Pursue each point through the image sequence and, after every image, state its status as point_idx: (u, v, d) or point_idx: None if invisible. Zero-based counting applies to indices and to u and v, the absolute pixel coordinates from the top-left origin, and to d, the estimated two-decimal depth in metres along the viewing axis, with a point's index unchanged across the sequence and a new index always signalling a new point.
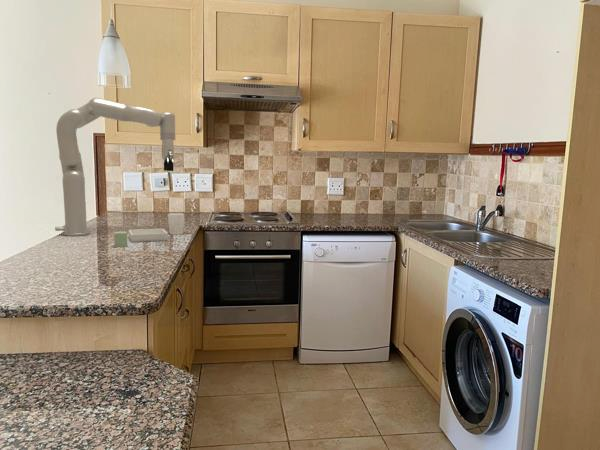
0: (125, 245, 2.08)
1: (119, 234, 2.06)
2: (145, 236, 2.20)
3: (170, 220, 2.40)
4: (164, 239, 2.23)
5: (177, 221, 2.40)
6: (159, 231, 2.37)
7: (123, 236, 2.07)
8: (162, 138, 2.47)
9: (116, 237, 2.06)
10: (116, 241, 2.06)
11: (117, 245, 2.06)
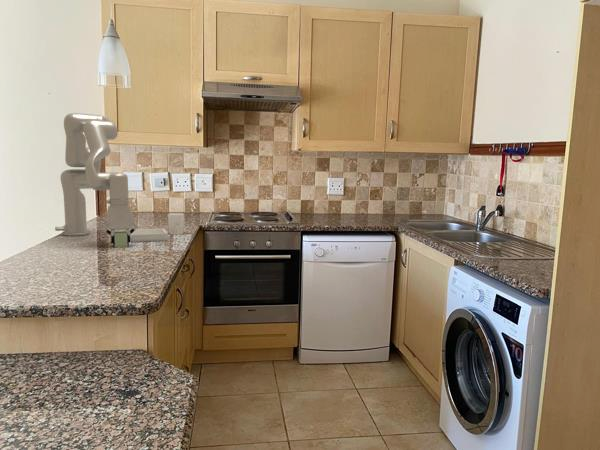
0: (125, 245, 2.08)
1: (119, 234, 2.06)
2: (145, 236, 2.20)
3: (170, 220, 2.40)
4: (164, 239, 2.23)
5: (177, 221, 2.40)
6: (159, 231, 2.37)
7: (123, 236, 2.07)
8: (125, 205, 2.05)
9: (116, 237, 2.06)
10: (116, 241, 2.06)
11: (117, 245, 2.06)
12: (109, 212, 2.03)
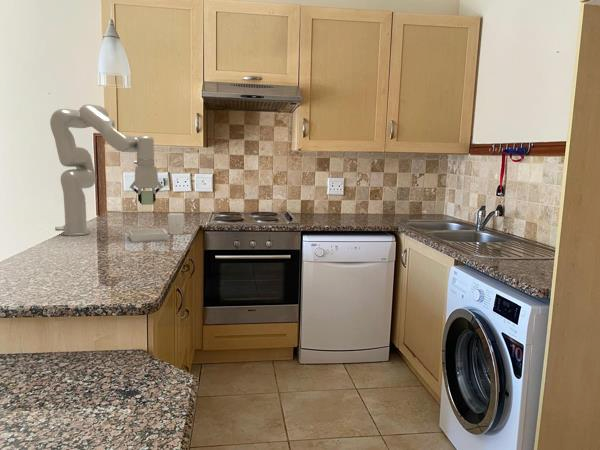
0: (151, 203, 2.24)
1: (146, 192, 2.23)
2: (145, 236, 2.20)
3: (170, 220, 2.40)
4: (164, 239, 2.23)
5: (177, 221, 2.40)
6: (159, 231, 2.37)
7: (149, 194, 2.23)
8: (151, 165, 2.21)
9: (143, 195, 2.22)
10: (143, 199, 2.22)
11: (144, 202, 2.23)
12: (137, 172, 2.20)
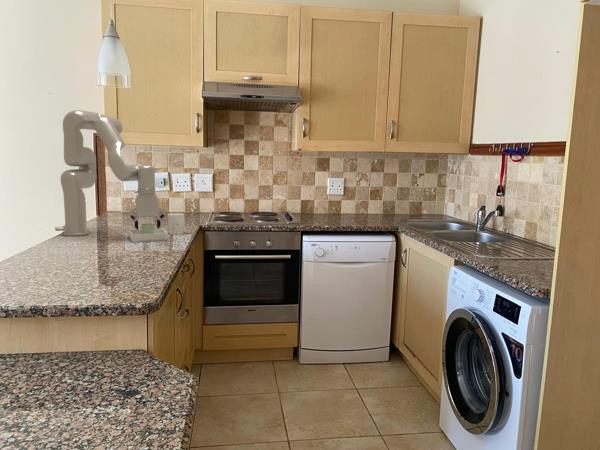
0: None
1: (146, 226, 2.25)
2: (145, 236, 2.20)
3: (170, 220, 2.40)
4: (164, 239, 2.23)
5: (177, 221, 2.40)
6: (159, 231, 2.37)
7: (150, 228, 2.25)
8: (152, 194, 2.23)
9: (144, 229, 2.24)
10: (144, 232, 2.25)
11: None
12: (138, 201, 2.22)
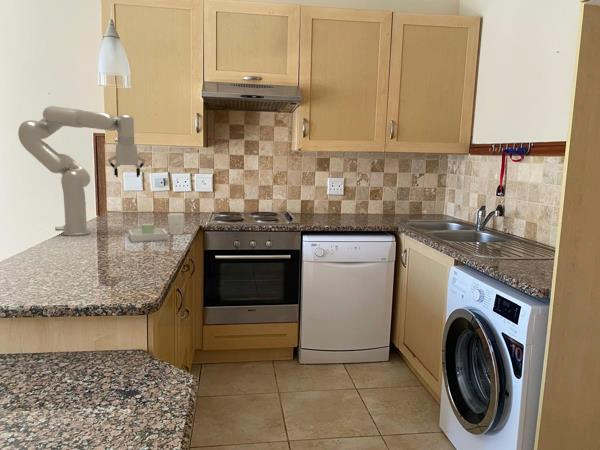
0: None
1: (146, 226, 2.25)
2: (145, 236, 2.20)
3: (170, 220, 2.40)
4: (164, 239, 2.23)
5: (177, 221, 2.40)
6: (159, 231, 2.37)
7: (150, 228, 2.25)
8: (131, 143, 2.33)
9: (144, 229, 2.24)
10: (144, 232, 2.25)
11: None
12: (117, 149, 2.31)
